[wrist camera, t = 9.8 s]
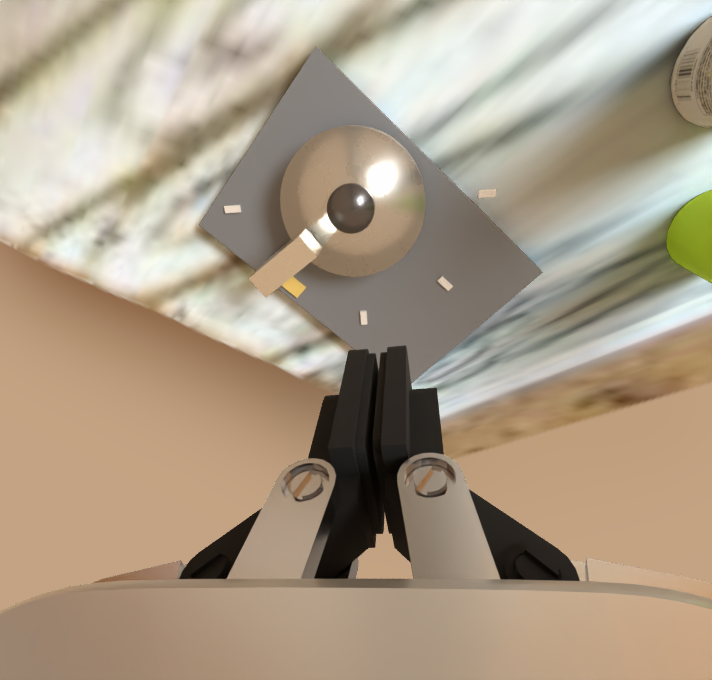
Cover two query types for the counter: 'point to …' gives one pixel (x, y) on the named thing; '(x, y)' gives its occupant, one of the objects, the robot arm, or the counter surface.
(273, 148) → the board
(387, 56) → the counter surface
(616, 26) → the counter surface
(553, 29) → the counter surface
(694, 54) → the spray can
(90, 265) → the counter surface
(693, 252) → the soap dispenser
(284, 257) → the dial
